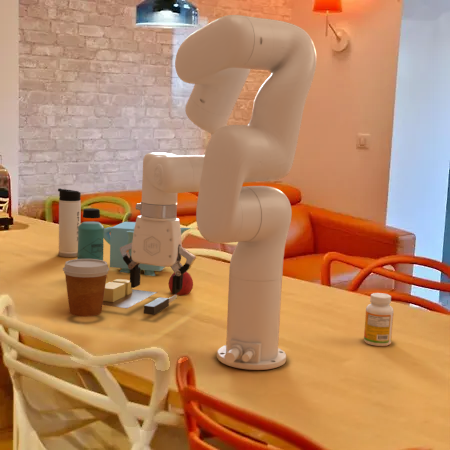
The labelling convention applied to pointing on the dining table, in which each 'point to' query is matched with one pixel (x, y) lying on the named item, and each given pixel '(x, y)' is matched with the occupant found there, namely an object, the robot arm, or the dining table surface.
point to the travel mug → (69, 222)
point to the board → (130, 299)
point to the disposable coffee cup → (85, 285)
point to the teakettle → (122, 237)
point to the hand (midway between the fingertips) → (155, 289)
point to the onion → (186, 285)
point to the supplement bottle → (379, 320)
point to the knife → (158, 305)
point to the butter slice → (127, 285)
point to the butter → (114, 291)
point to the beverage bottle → (90, 236)
